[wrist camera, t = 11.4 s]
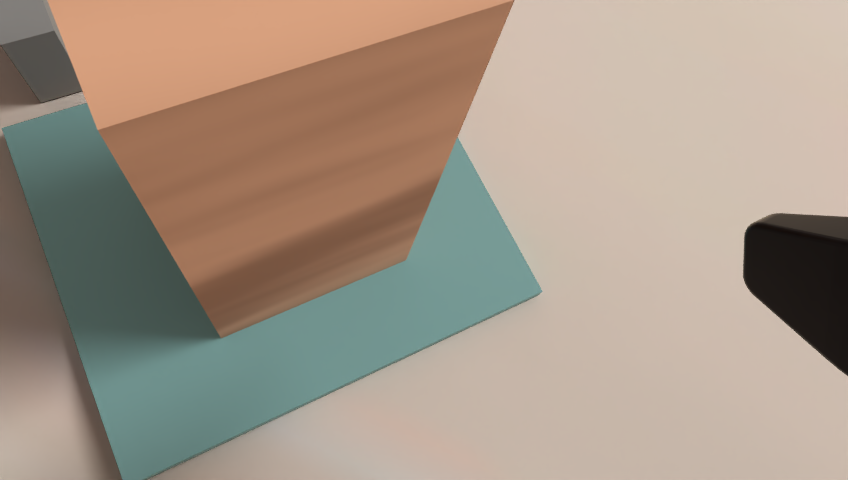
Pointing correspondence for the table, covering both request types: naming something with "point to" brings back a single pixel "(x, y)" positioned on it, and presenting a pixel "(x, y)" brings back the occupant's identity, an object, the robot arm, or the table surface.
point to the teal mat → (253, 346)
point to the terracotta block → (280, 130)
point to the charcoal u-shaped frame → (37, 48)
